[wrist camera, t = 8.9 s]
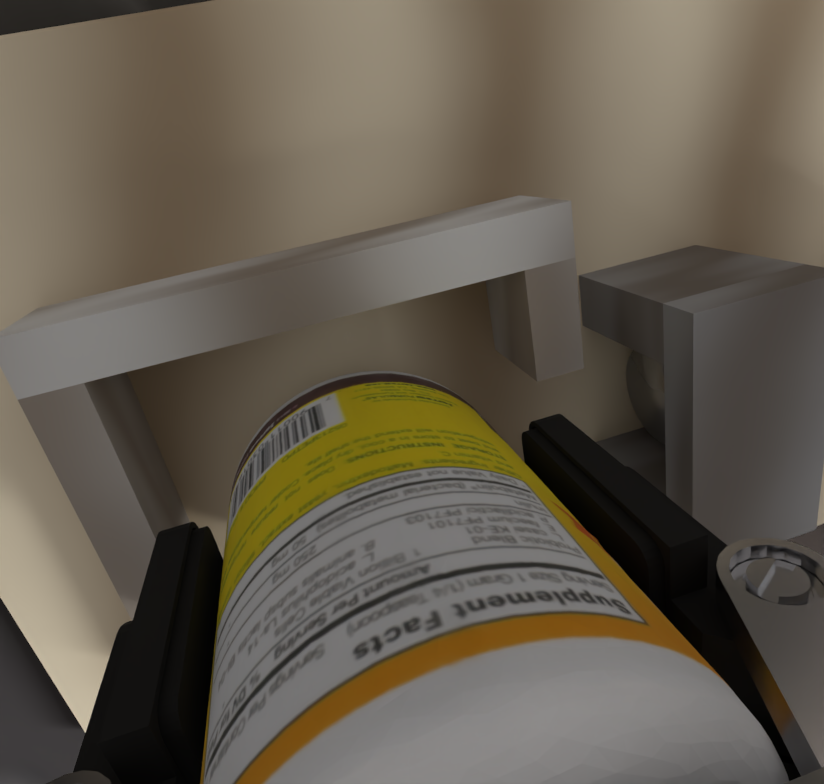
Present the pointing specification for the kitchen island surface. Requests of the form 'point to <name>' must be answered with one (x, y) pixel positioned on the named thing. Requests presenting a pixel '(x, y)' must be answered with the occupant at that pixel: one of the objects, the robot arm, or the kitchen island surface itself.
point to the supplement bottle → (441, 617)
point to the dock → (395, 257)
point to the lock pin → (647, 393)
